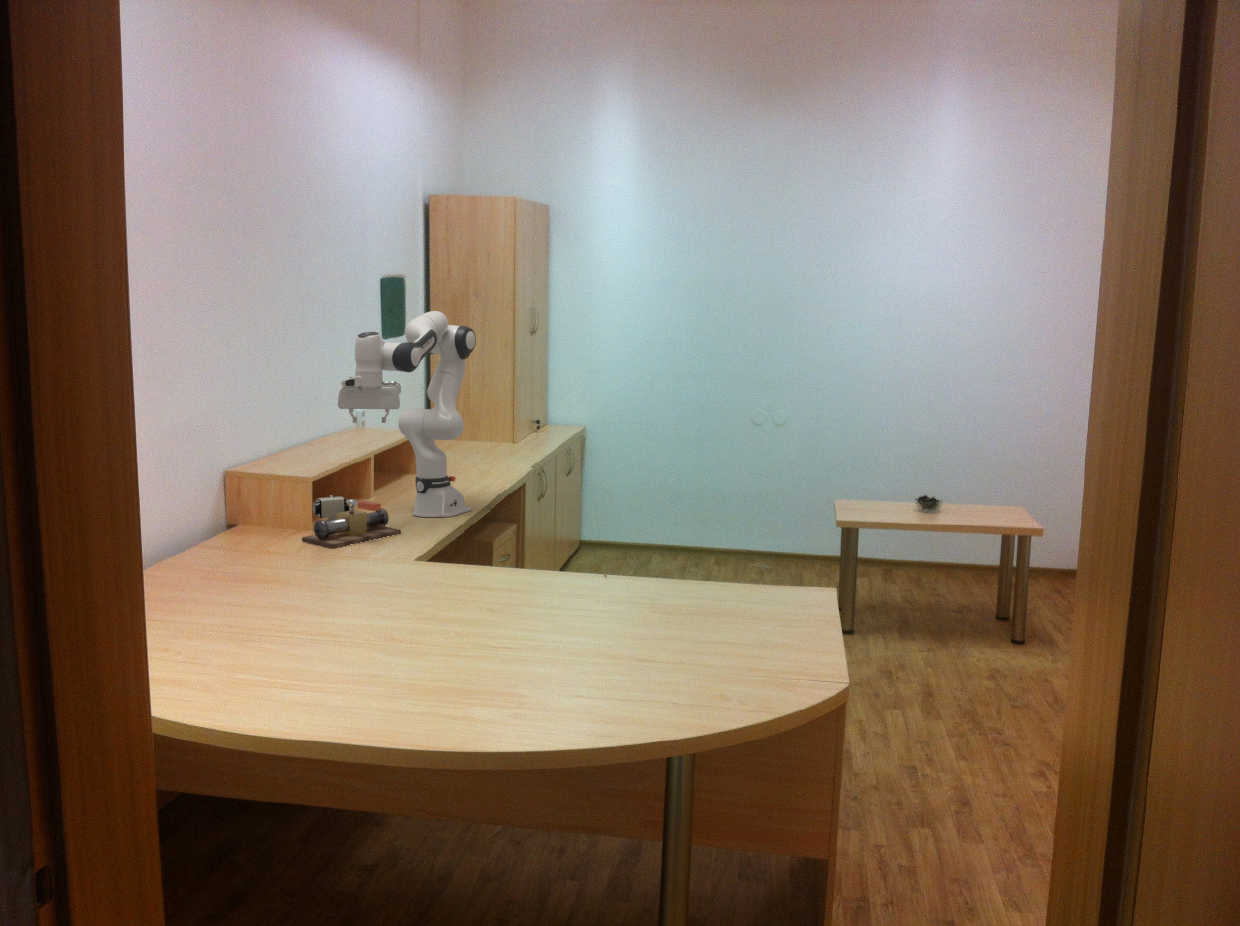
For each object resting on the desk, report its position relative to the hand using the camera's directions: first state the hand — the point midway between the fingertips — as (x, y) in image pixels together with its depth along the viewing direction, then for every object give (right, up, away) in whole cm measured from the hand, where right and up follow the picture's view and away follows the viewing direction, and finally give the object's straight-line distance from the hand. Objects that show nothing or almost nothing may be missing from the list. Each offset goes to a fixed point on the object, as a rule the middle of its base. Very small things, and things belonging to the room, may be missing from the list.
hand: (369, 422), depth 345 cm
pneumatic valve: (-16, -37, +11) cm, 41 cm away
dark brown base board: (-5, -38, -1) cm, 39 cm away
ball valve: (-5, -37, -2) cm, 37 cm away
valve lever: (-1, -28, -7) cm, 29 cm away
